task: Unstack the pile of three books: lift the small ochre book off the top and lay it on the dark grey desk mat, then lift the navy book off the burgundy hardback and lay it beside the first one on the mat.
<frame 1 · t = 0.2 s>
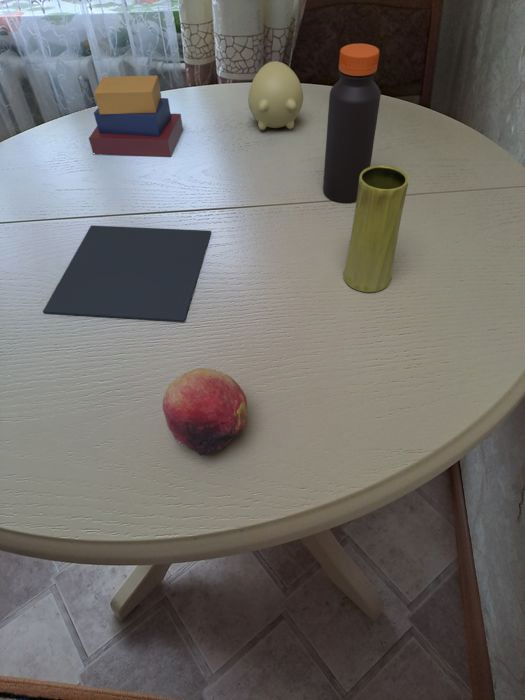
desk mat: (133, 270, 67), on the table
top book: (131, 105, 86), point 6 cm above the table, touching middle book
middle book: (135, 125, 88), point 3 cm above the table, touching bottom book, top book
bottle: (344, 192, 78), on the table
vase: (366, 278, 65), on the table
fruit: (211, 434, 50), on the table
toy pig: (275, 125, 94), on the table
bottom book: (139, 141, 91), on the table, touching middle book
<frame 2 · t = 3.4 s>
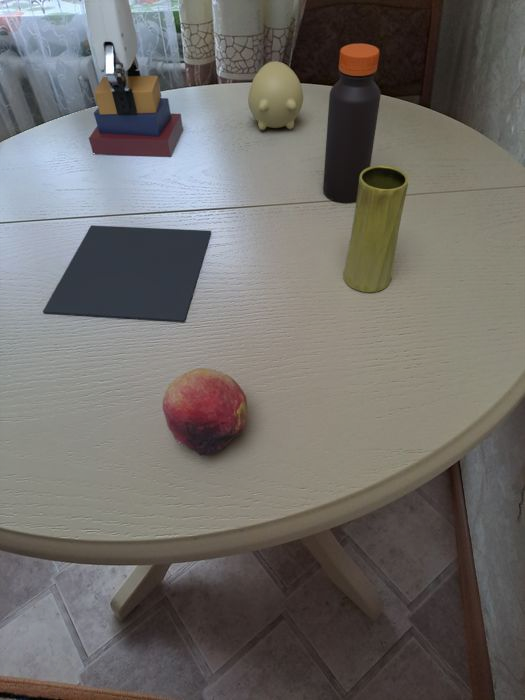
hand: (131, 103, 86), 7 cm above the table, tool pointing down, fingers closed on top book, 6 cm apart
top book: (131, 105, 86), point 6 cm above the table, touching gripper, middle book
everything else where it was.
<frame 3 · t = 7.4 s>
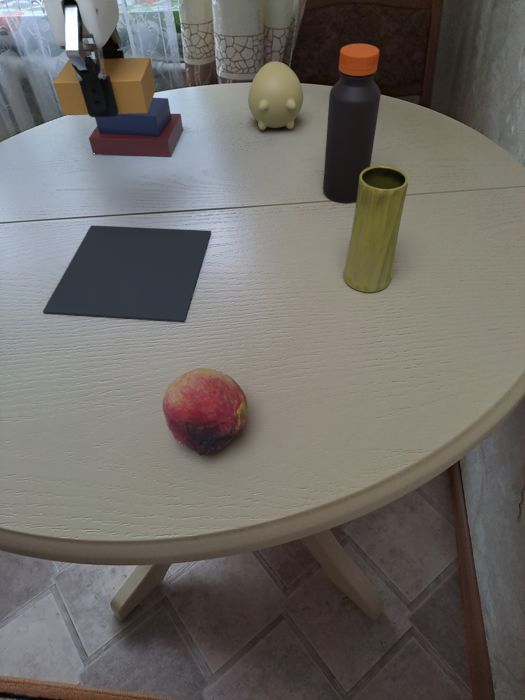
hand: (110, 99, 58), 19 cm above the table, tool pointing down, fingers closed on top book, 6 cm apart
top book: (111, 102, 58), point 19 cm above the table, touching gripper
middle book: (135, 125, 88), point 3 cm above the table, touching bottom book
everything else where it was.
when the fingers open (1 cm above the table, at t = 11.9 s): top book stays where it is, resting on desk mat.
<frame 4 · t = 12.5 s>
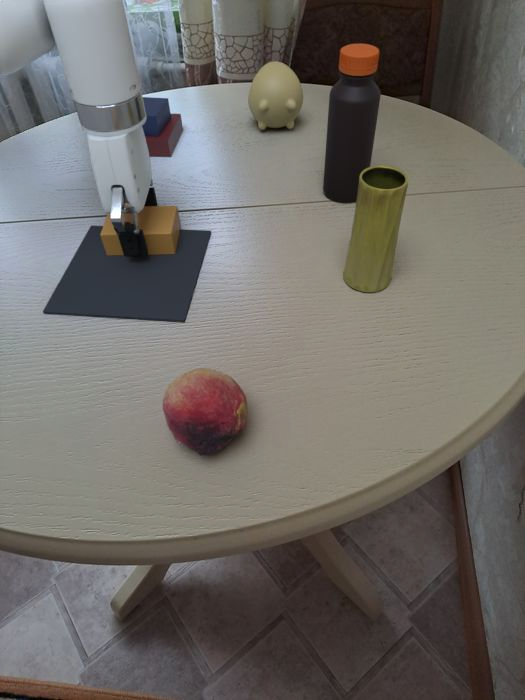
hand: (142, 233, 70), 2 cm above the table, tool pointing down, fingers open, 9 cm apart
top book: (144, 240, 71), resting on desk mat
everything else where it was.
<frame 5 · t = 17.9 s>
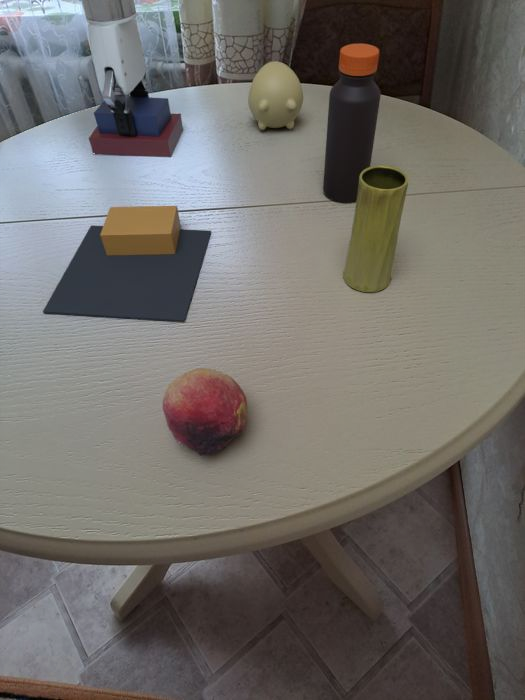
hand: (135, 123, 88), 3 cm above the table, tool pointing down, fingers closed on middle book, 7 cm apart
middle book: (135, 125, 88), point 3 cm above the table, touching bottom book, gripper
everything else where it was.
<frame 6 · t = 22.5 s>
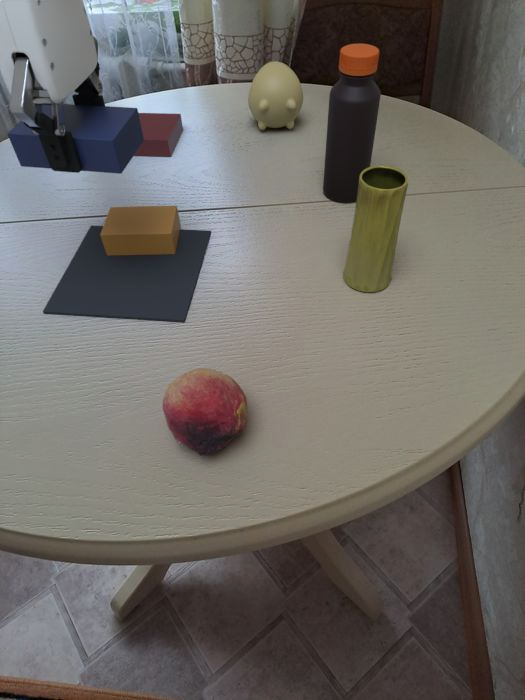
hand: (83, 149, 53), 18 cm above the table, tool pointing down, fingers closed on middle book, 7 cm apart
middle book: (84, 153, 53), point 17 cm above the table, touching gripper
bottom book: (139, 141, 91), on the table
everything else where it was.
when the fingers open (1 cm above the table, at t = 27.1 s): middle book stays where it is, resting on desk mat.
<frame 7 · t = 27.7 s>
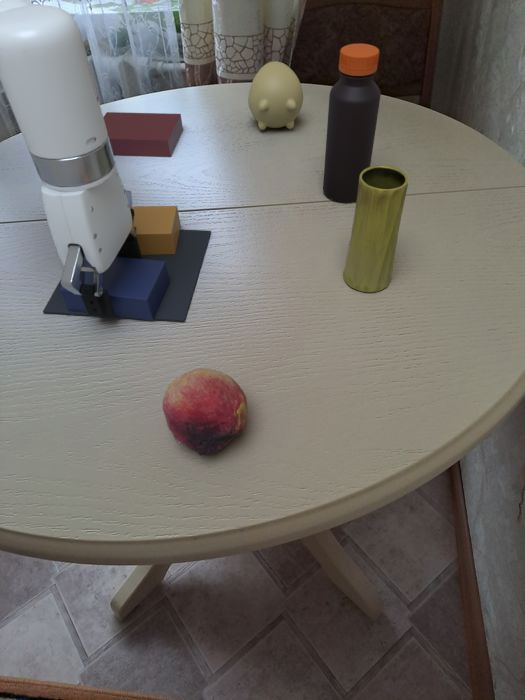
hand: (117, 287, 62), 2 cm above the table, tool pointing down, fingers open, 9 cm apart
middle book: (120, 296, 63), resting on desk mat
everything else where it was.
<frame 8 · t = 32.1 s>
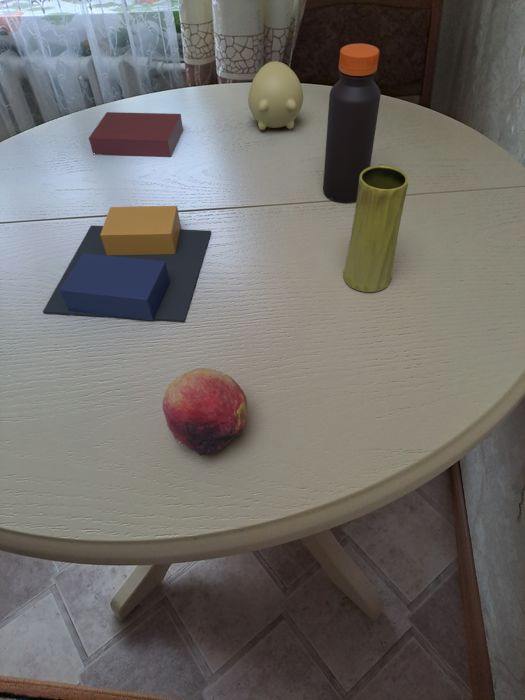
nothing on the table moved.
at the end: top book inside the target area on the desk mat (0.0 cm from its centre), point 0.4 cm above the desk mat's base; middle book inside the target area on the desk mat (0.0 cm from its centre), point 0.4 cm above the desk mat's base; bottom book moved 0.0 cm from its start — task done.
